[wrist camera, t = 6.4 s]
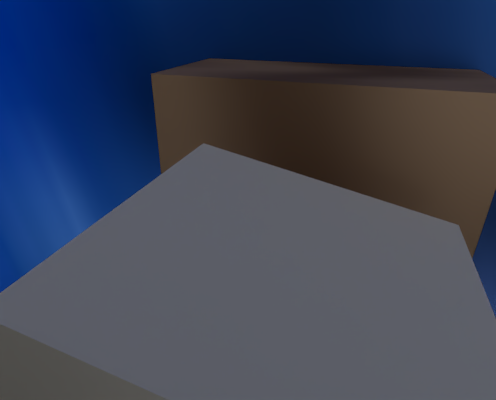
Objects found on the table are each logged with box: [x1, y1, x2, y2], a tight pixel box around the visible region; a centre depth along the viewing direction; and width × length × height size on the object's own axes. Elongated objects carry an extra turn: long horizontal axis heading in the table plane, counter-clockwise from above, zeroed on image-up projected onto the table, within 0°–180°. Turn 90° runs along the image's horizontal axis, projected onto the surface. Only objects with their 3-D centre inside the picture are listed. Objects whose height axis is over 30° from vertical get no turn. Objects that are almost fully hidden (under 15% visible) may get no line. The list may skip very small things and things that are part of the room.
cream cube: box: [0, 143, 496, 400], centre depth 6 cm, size 5×5×5 cm
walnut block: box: [151, 58, 496, 258], centre depth 12 cm, size 8×8×4 cm
